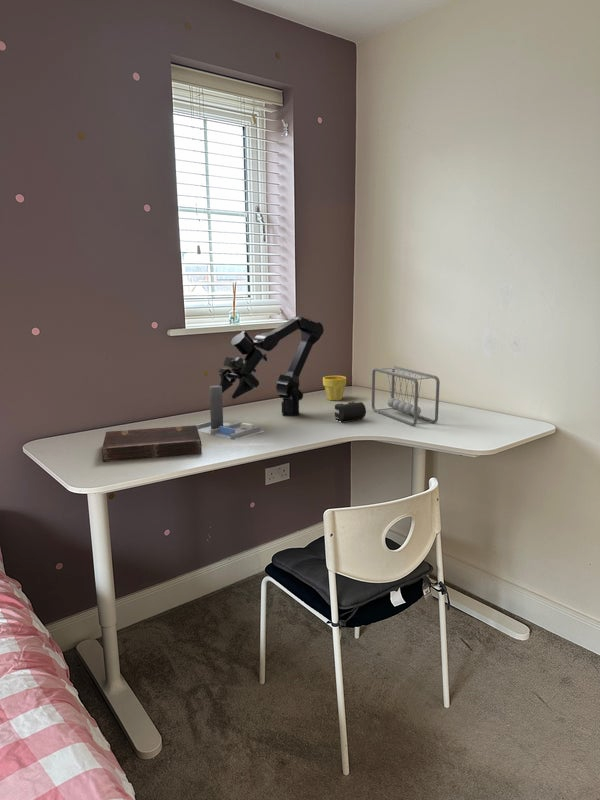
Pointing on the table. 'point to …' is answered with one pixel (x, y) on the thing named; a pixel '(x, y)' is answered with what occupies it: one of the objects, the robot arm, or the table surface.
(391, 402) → the newton's cradle
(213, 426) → the grey square pillar
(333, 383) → the plant pot
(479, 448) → the table surface
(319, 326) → the robot arm
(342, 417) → the black cylinder
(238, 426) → the board
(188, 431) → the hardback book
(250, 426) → the ear clip
